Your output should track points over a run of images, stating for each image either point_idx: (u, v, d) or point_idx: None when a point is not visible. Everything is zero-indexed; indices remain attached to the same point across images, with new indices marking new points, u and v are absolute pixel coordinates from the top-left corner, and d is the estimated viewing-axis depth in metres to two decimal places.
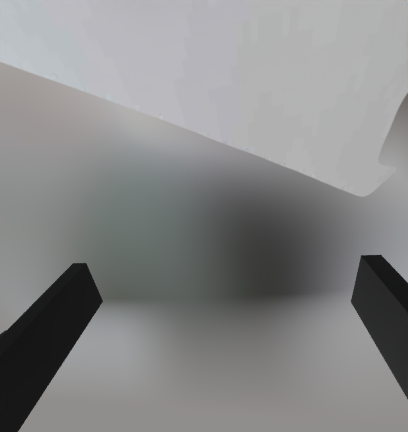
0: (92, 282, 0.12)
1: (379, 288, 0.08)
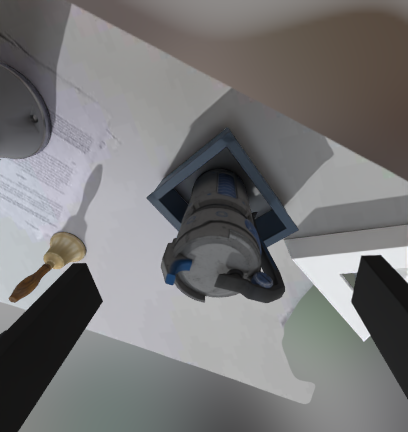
0: (92, 282, 0.12)
1: (379, 288, 0.08)
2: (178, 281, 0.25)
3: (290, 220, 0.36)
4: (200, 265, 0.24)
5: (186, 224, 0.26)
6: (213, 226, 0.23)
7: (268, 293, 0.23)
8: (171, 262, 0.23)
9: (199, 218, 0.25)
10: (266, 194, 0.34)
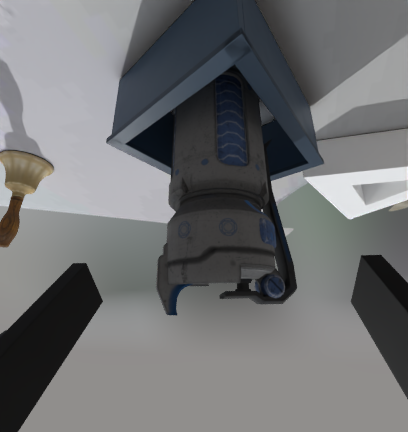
0: (92, 282, 0.12)
1: (379, 288, 0.08)
2: None
3: (317, 156, 0.26)
4: None
5: (178, 234, 0.19)
6: (218, 262, 0.17)
7: (278, 302, 0.21)
8: (168, 294, 0.19)
9: (197, 236, 0.18)
10: (292, 131, 0.22)
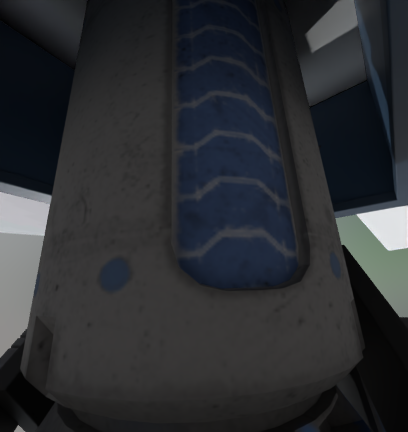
0: None
1: None
2: None
3: None
4: None
5: None
6: None
7: None
8: None
9: None
10: None
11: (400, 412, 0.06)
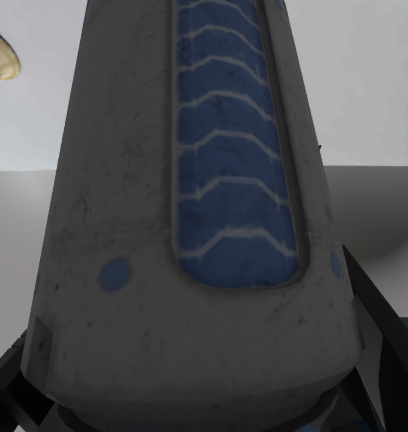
0: None
1: None
2: None
3: None
4: None
5: None
6: None
7: None
8: None
9: None
10: None
11: (400, 412, 0.06)
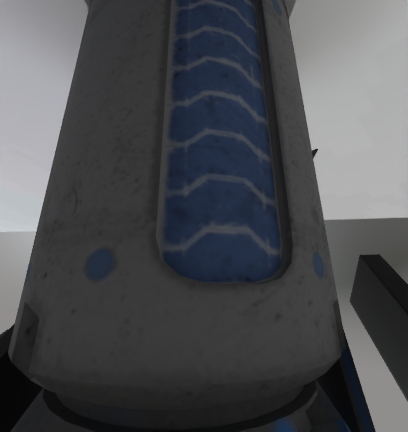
0: None
1: (377, 287, 0.08)
2: None
3: None
4: None
5: None
6: None
7: None
8: None
9: None
10: None
11: None
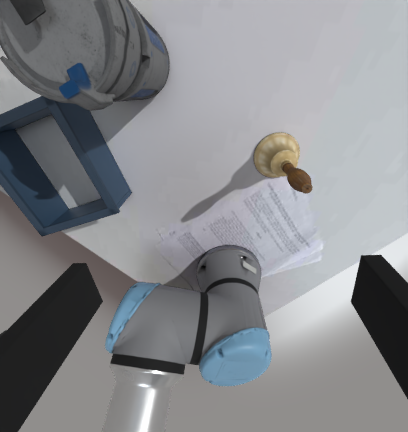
0: (92, 282, 0.12)
1: (379, 288, 0.08)
2: (111, 60, 0.17)
3: None
4: (65, 53, 0.17)
5: None
6: None
7: None
8: None
9: None
10: (4, 182, 0.37)
11: None
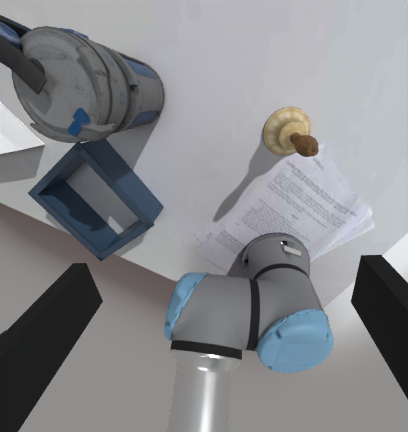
0: (92, 282, 0.12)
1: (379, 287, 0.08)
2: (100, 97, 0.22)
3: (38, 202, 0.44)
4: (69, 105, 0.22)
5: None
6: None
7: None
8: None
9: None
10: (64, 223, 0.46)
11: None
